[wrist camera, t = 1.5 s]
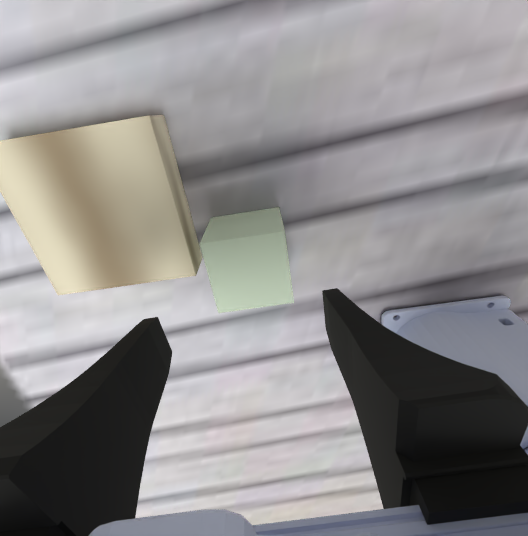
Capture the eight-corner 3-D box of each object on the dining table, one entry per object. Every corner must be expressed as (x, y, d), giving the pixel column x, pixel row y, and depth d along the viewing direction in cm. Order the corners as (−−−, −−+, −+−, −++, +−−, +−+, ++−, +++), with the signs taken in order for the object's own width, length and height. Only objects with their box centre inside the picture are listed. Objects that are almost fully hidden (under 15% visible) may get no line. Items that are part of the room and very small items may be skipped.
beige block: (165, 114, 17) (149, 115, 14) (203, 255, 21) (195, 275, 19) (17, 140, 18) (-26, 145, 15) (82, 272, 22) (58, 295, 19)
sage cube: (279, 206, 19) (284, 230, 15) (287, 267, 21) (293, 302, 17) (211, 217, 20) (199, 243, 16) (225, 276, 22) (218, 313, 18)
